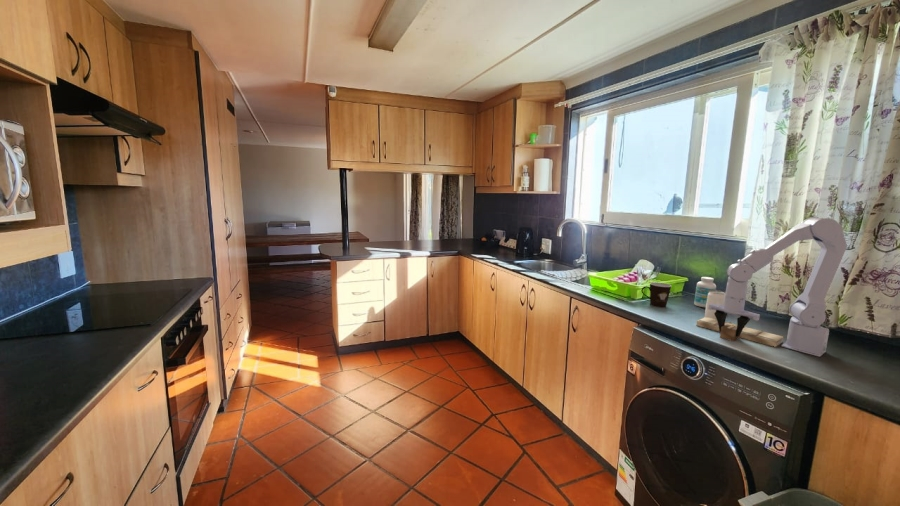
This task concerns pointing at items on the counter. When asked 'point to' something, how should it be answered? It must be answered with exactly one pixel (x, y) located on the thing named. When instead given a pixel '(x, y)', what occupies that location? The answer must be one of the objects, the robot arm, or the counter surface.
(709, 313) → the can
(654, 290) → the coffee mug
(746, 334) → the maple board
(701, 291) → the pill bottle
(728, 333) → the brown wooden cube
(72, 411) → the counter surface
